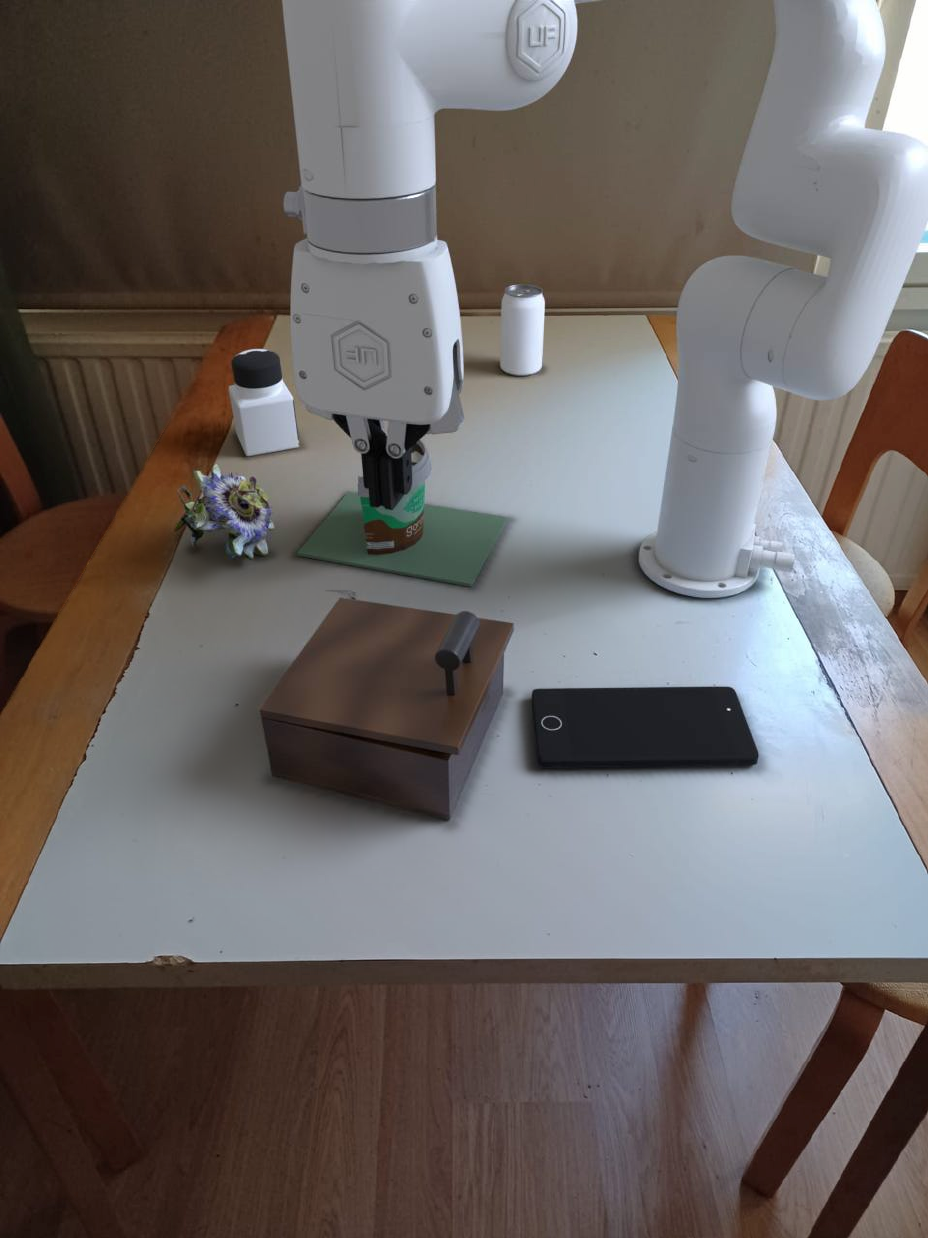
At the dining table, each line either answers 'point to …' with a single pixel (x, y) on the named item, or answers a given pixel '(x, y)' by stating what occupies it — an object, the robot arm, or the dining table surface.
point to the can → (522, 330)
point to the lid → (392, 674)
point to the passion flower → (229, 512)
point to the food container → (397, 511)
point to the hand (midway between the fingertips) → (389, 498)
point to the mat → (441, 554)
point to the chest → (380, 762)
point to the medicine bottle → (262, 404)
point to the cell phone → (641, 727)
